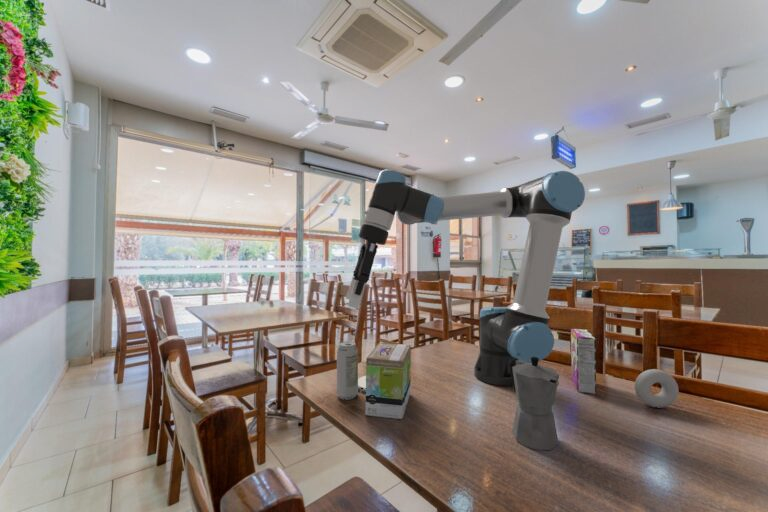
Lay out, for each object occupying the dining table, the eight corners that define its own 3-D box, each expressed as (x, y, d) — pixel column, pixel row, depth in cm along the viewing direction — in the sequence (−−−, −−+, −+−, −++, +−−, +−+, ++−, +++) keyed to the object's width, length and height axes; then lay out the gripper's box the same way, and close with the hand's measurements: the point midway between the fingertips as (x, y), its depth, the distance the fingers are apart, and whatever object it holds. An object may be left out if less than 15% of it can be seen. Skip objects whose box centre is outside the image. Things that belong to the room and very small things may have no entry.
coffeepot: (576, 453, 66) (577, 365, 66) (536, 460, 64) (536, 369, 63) (527, 416, 81) (527, 344, 81) (493, 421, 79) (493, 347, 78)
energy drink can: (348, 389, 97) (348, 339, 97) (362, 395, 93) (362, 343, 93) (332, 396, 93) (332, 343, 92) (346, 402, 88) (345, 348, 88)
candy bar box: (570, 378, 105) (570, 328, 105) (588, 380, 103) (588, 329, 103) (576, 392, 94) (576, 336, 94) (596, 395, 93) (596, 338, 92)
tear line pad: (394, 382, 102) (394, 379, 102) (370, 395, 93) (370, 392, 93) (369, 374, 108) (369, 372, 108) (345, 386, 99) (345, 384, 99)
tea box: (404, 420, 79) (403, 360, 79) (364, 416, 81) (364, 357, 81) (411, 394, 94) (411, 343, 94) (377, 391, 96) (377, 341, 96)
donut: (671, 405, 86) (672, 367, 86) (682, 411, 83) (682, 372, 83) (631, 403, 87) (631, 366, 87) (640, 409, 84) (640, 371, 84)
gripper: (359, 226, 98) (337, 293, 97) (367, 217, 74) (338, 306, 73) (382, 234, 99) (361, 300, 98) (397, 228, 75) (369, 315, 74)
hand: (351, 303), depth 86 cm, fingers open, 13 cm apart
